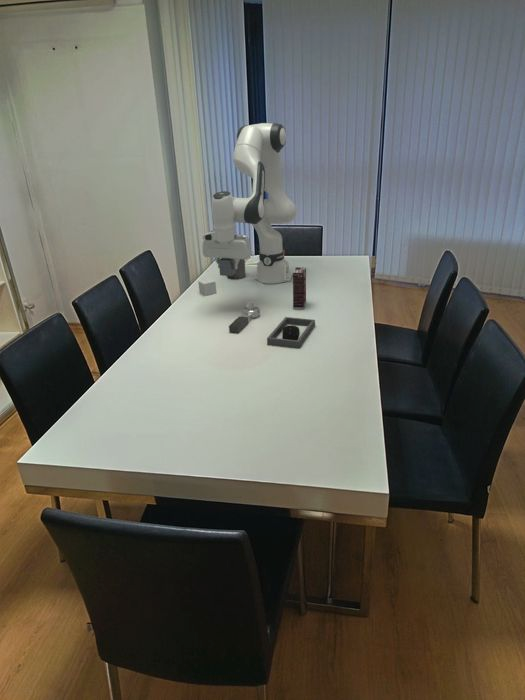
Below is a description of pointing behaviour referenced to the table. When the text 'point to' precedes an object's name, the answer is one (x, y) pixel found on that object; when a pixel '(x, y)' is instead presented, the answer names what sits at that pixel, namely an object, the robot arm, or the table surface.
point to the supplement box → (299, 288)
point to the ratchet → (245, 318)
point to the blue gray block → (227, 267)
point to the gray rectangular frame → (285, 342)
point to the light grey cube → (207, 287)
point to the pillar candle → (239, 271)
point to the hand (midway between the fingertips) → (228, 268)
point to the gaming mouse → (290, 333)
